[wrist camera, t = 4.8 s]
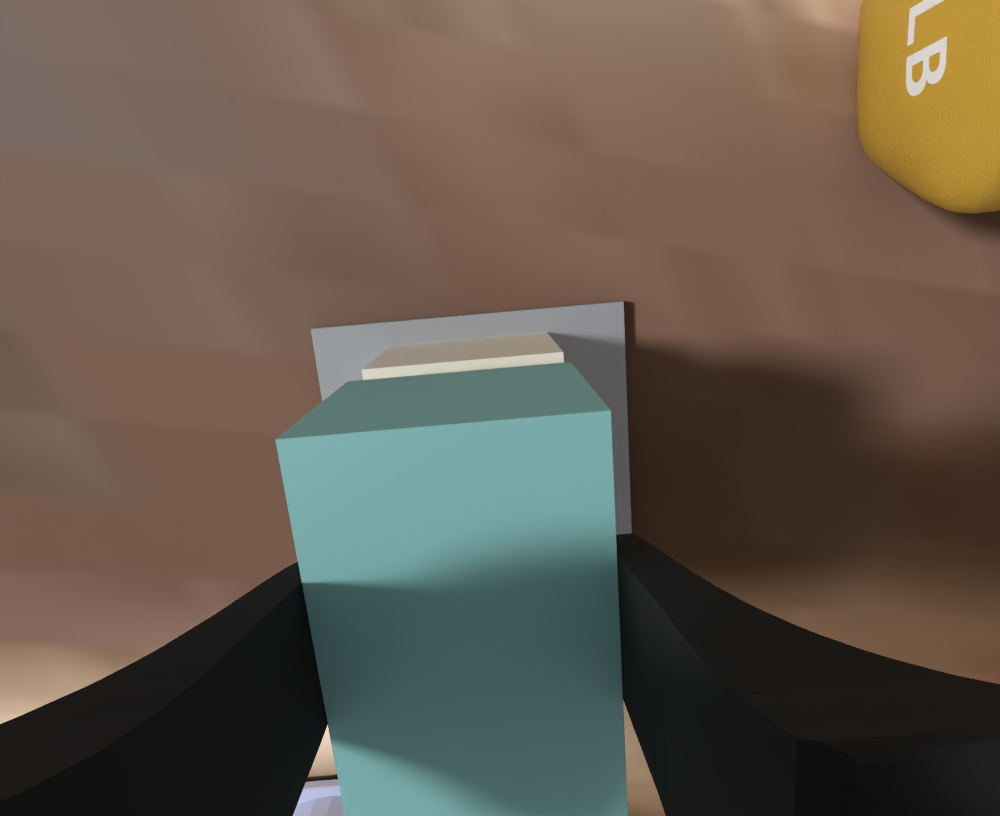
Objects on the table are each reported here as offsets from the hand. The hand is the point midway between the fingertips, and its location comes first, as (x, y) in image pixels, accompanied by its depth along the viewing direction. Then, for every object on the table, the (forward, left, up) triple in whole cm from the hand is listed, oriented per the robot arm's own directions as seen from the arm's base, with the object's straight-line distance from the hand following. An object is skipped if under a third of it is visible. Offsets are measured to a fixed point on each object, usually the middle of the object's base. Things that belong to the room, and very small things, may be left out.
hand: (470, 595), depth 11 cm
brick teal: (0, 0, -3) cm, 3 cm away
